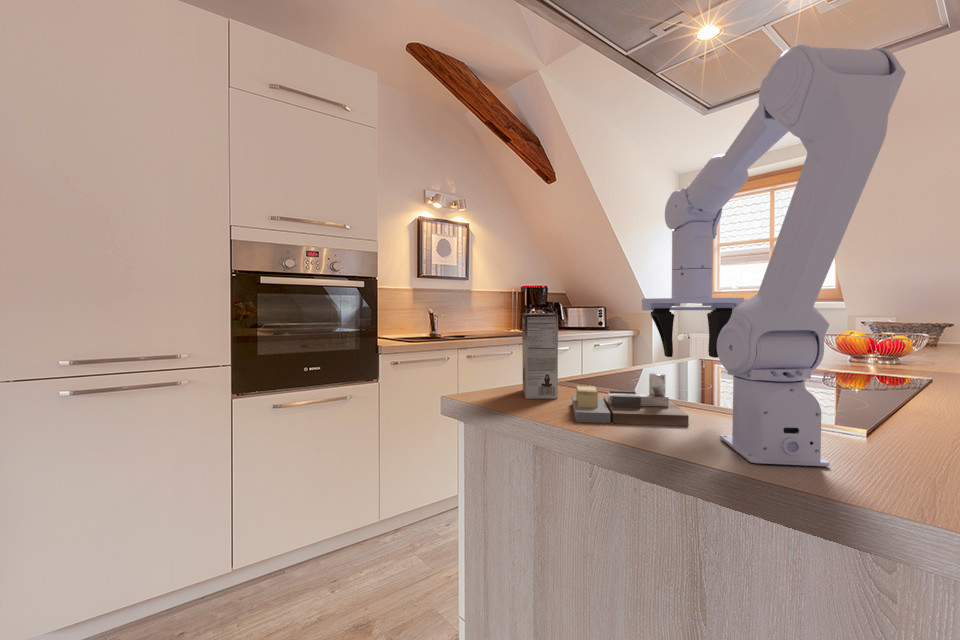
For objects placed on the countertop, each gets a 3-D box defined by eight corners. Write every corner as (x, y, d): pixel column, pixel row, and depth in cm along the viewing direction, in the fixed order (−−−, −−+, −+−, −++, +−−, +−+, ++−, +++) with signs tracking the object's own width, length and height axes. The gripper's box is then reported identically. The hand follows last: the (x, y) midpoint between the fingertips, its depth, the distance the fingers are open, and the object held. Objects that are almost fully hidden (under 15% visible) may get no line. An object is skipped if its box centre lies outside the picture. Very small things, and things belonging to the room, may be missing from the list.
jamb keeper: (610, 423, 66) (610, 396, 66) (576, 421, 67) (576, 395, 67) (601, 404, 78) (601, 382, 78) (572, 404, 79) (572, 381, 79)
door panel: (688, 425, 64) (688, 403, 64) (613, 423, 66) (613, 401, 66) (667, 406, 76) (667, 387, 76) (603, 404, 78) (603, 386, 78)
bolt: (668, 406, 69) (669, 375, 69) (609, 405, 71) (609, 374, 70) (665, 403, 72) (665, 373, 71) (607, 401, 73) (607, 372, 73)
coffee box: (521, 389, 92) (521, 312, 92) (552, 389, 92) (552, 312, 91) (525, 399, 83) (525, 313, 82) (559, 399, 83) (559, 313, 82)
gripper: (731, 271, 72) (730, 354, 72) (638, 272, 74) (637, 353, 75) (750, 267, 65) (749, 359, 65) (647, 269, 67) (646, 358, 68)
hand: (690, 356), depth 70 cm, fingers open, 6 cm apart
